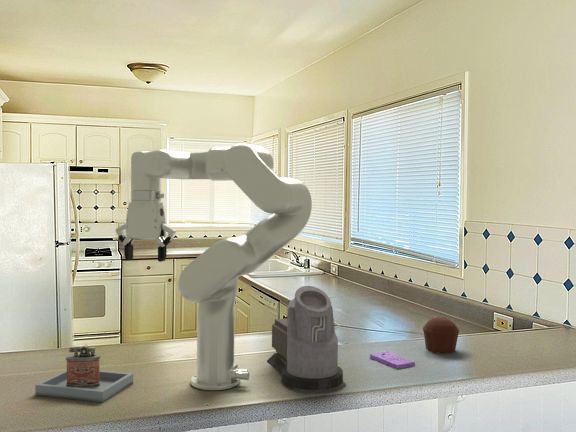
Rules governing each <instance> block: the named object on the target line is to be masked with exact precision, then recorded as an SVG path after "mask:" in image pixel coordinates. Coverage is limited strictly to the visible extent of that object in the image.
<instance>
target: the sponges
mask: <svg viewBox="0 0 576 432" xmlns="http://www.w3.org/2000/svg"><path fill="white" fill-rule="evenodd" d="M369 359H371V360H374V361H376V362H378V363H381V364H384V365H386V366H388V367H391V368H393V369H396V370H400V369H403V368H408V367H409V368H410V367H415V366H416V362H415V361H414V360H412V359H409V358H406V357H404V356H401V355H399V354H396V353H394V352H392V351H390V350H384V351H378V352H373V353H369Z"/></svg>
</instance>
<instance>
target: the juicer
mask: <svg viewBox="0 0 576 432" xmlns="http://www.w3.org/2000/svg"><path fill="white" fill-rule="evenodd" d="M286 313H287V317H286V318H275V319H274V323H272V324H271V347H272V348H273V349H274V350H275V352H274V353H273V354H272V355H271V356H270V357H269V358H267V360H266V361H267V362H266V363H268V364H269V365H270V366H271V368H273V369H274V370H275V371H277V372H278V373H279V374H280V375H281V379H280V380H281V384H282V385H284V386H285V387H286V388H289V389H291V390H294V391H295V392H296V393H300V394H301V393H302V394H311V395H312V394H313V395H317V394H319V395H320V394H329V393H334V392H338V391H341V390H343V389H345V388H346V387H347V384H346V383H345V382H344V380H343V379H344V370H343V369H342V368H341V367H340V366H338V363H339V361H338V360H339V356H338V354H339V353H338V352H339V351H338V350H339V338H338V336H337V334H336V329H335V321H334V309H333V306H332V301H331V299H330V296H329V295H328V294H327V293H326V292H325V291H324V290H322V289H321V288H319V287H316V286H311V285H304V286H300V287H299V288H298V289H296V291H295V293H294V298H292V299H291V300H290V301H289V302H288V304H287V312H286Z"/></svg>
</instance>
